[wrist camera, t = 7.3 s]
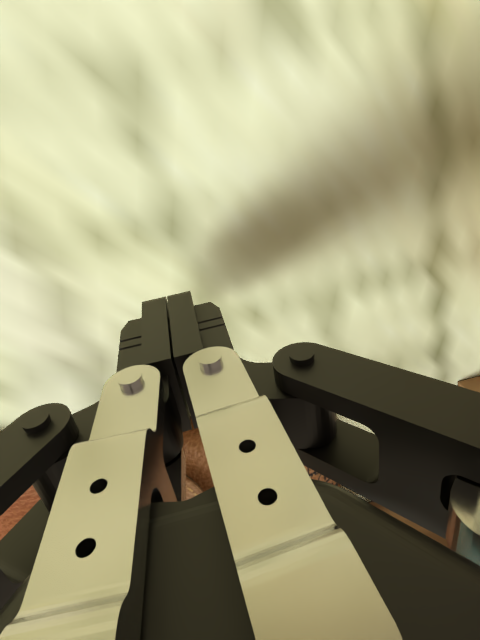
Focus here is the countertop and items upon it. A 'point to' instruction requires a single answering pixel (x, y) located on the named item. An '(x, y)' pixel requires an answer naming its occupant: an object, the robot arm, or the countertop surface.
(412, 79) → the countertop surface
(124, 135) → the countertop surface
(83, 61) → the countertop surface
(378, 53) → the countertop surface
